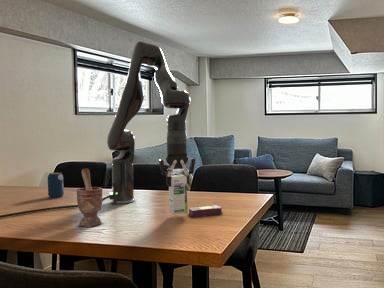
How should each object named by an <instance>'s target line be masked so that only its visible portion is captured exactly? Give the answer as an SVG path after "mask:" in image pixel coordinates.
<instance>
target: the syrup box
mask: <svg viewBox="0 0 384 288" xmlns="http://www.w3.org/2000/svg"><path fill="white" fill-rule="evenodd" d="M170 177H171V186H170V187H169V186H168V211H169V213H171V214H172V215H181V214H187V213H188V184H187V176H185V174H174V175H173V174H171V175H170Z"/></svg>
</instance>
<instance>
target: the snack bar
mask: <svg viewBox="0 0 384 288" xmlns="http://www.w3.org/2000/svg"><path fill="white" fill-rule="evenodd" d="M188 212H189V213H188V215H189V216H191V217H192V218H197V217H205V216H214V215H215V216H216V215H222V207H221V206H219V205H207V206H198V207H188Z"/></svg>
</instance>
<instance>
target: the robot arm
mask: <svg viewBox="0 0 384 288" xmlns="http://www.w3.org/2000/svg"><path fill="white" fill-rule="evenodd" d="M142 65H144V66H150V67H154V69H155V72H154V76H153V78H154V82H155V84H156V86H157V87H158V89H159V92H160V97H161V103H162V105H163V106H164V107H165V108H167V109H173V110H174V109H177V111H176V113H174V114H171V115H168V116H167V118H166V129H167V130H166V131H167V132H166V158H164V159H159V160H158V164H159V171H160V174H161V175H162V176H165V181H166V182H165V183H166V186H167V187H168V188H169V187H170V186H171V177H170V176H171V175H172V173H173V171H174V170H177V169H181V171H182V172H183V175H185V176H187V185H189V183H190V175H192V174H194V172H195V165H196V159H195V158H193V157H191V158H190V157H188V136H187V116H188V112H189V108H190V104H191V97H190V94H189V92H187V91H186V90H179V89H178V83H177V81H176V80H175V78H174V77H173V75H172V73H171V72H170V70H169V67H168V64H167V62H166V59H165V56H164V53H163V51H162V49H161V47H160V46H159V45H157V44H153V43H149V42H147V41H142V40H138V41H137V42H136V43H135V44H134V47H133V49H132V53H131V58H130V63H129V69H128V74H127V77H126V80H125V83H124V86H123V90H122V93H121V97H120V99H119V104H118V107H117V110H116V114H115V117H114V119H113V121H112V125H111V127H110V128H109V129H110V130H109V131H108V134H107V139H106V144H107V148H108V149H109V150H110V151H112V152H113V151H114V152H119V151H120V152H119V154H118V155H117V156H115V157H114V158H112V159H111V178H112V181H111V192H109V193H108V195H107V196H105V197H102V203H103V202H104V201H105V200H107V199H109V200H110V201H112V203H113V204H116V205H117V204H118V205H119V204H120V205H121V204H130V203H133V202H134V201H135V192H134V191H135V190H134V189H135V188H134V187H135V186H134V160H135V149H136V147H135V145H136V142H135V136H134V134H133V132H132V131H131V130H127V129H126V127H127V126H128V124H129V122H130V121H131V120H132V119H133V118H134V117H136V115H137V114H138V113H139V112H140V110H141V109H142V106H143V102H144V99H145V94H146V93H145V88H144V86H143V82H142V79H141V69H142ZM166 163H167V164H168V168H167V170H166V169H165V165H166ZM187 163H189V168H187V166H186V164H187ZM70 208H78V204H71V205H61V206H51V207H45V208H36V209H30V210H25V211H17V212H12V213H5V214H0V219H1V218H6V217H12V216H13V217H14V216H18V215H24V214H25V215H26V214H29V213H30V214H31V213H37V212H44V211H52V210H59V209H70Z"/></svg>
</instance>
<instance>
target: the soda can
mask: <svg viewBox="0 0 384 288" xmlns="http://www.w3.org/2000/svg"><path fill="white" fill-rule="evenodd" d="M64 187H65V185H64V174H63V172H62V171H61V172H58V171H57V172H48V175H47V196H48V198H50V199H59V198H62V197H63V196H64V194H65V188H64Z"/></svg>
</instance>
